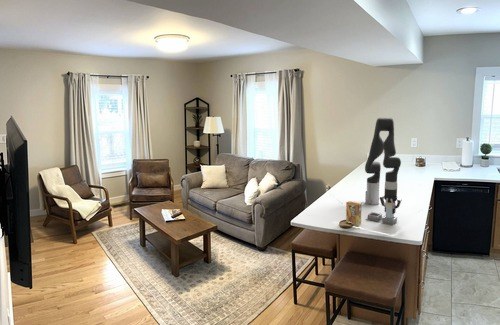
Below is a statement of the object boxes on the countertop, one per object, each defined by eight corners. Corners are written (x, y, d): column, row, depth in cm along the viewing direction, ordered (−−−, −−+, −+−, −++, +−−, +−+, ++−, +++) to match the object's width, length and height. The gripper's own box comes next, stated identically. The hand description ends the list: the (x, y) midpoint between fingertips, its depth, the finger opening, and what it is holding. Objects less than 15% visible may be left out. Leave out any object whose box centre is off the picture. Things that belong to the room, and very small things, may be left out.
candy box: (361, 225, 225) (361, 202, 222) (358, 227, 222) (359, 204, 219) (348, 222, 230) (348, 200, 228) (345, 224, 227) (346, 202, 225)
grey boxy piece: (365, 221, 232) (365, 215, 231) (372, 216, 241) (372, 211, 240) (392, 227, 220) (392, 221, 219) (399, 222, 228) (399, 216, 228)
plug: (385, 218, 226) (385, 202, 224) (387, 217, 229) (388, 201, 227) (391, 219, 223) (392, 203, 221) (394, 218, 226) (394, 202, 224)
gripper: (377, 187, 225) (376, 212, 228) (400, 190, 215) (398, 216, 218) (382, 185, 230) (381, 209, 233) (404, 188, 221) (403, 213, 223)
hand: (389, 213), depth 226 cm, fingers closed on plug, 4 cm apart
